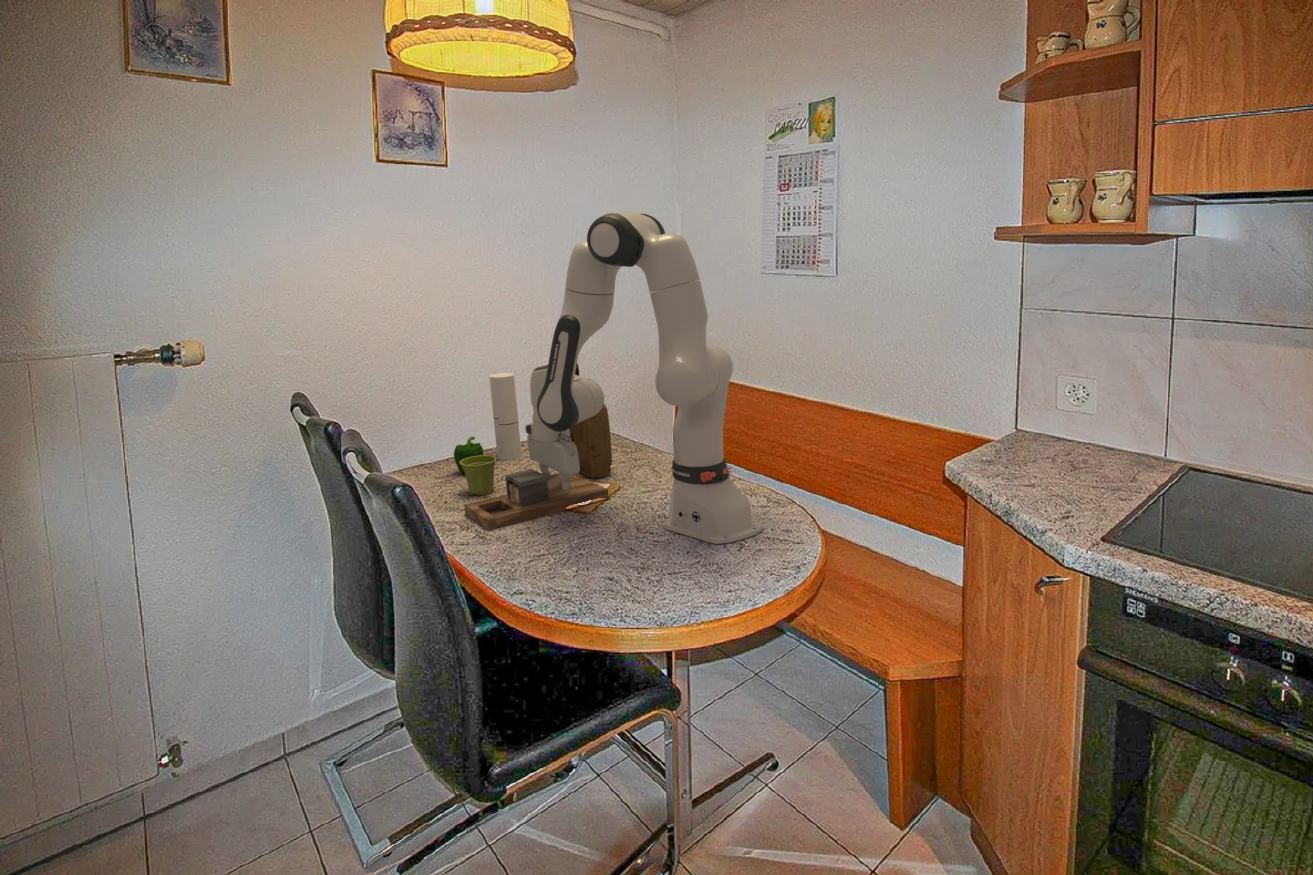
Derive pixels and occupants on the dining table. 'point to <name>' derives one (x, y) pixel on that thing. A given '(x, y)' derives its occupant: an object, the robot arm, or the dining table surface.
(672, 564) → the dining table surface
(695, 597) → the dining table surface
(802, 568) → the dining table surface
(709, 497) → the robot arm
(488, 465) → the plant pot
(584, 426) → the block
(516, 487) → the birch bar
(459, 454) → the bell pepper
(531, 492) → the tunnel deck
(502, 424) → the cylindrical container
